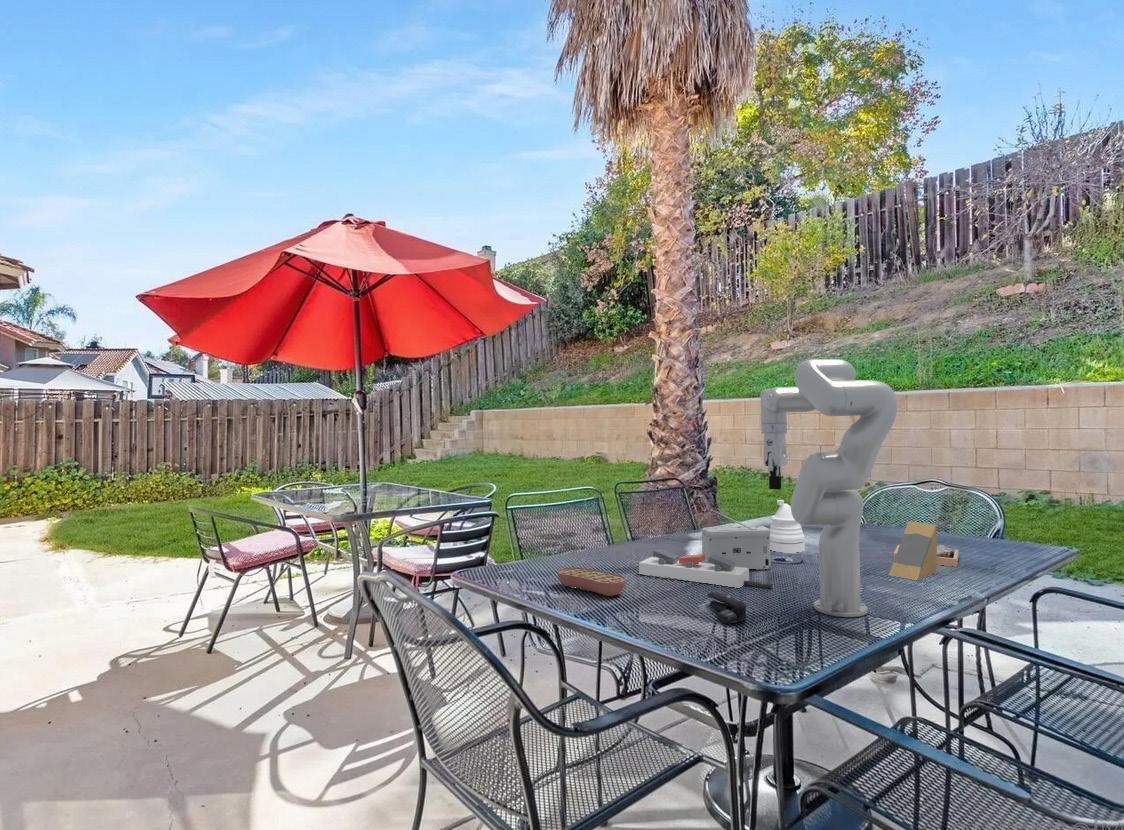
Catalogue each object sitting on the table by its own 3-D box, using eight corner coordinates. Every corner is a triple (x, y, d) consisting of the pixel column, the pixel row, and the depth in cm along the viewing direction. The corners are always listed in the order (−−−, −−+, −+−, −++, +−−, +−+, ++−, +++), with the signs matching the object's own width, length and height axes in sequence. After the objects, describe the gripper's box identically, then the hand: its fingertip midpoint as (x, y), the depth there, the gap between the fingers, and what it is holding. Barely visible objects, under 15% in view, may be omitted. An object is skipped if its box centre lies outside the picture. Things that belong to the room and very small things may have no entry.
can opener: (754, 625, 154) (753, 602, 154) (726, 628, 153) (726, 604, 153) (723, 603, 172) (723, 582, 172) (699, 605, 171) (698, 584, 171)
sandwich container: (886, 576, 194) (885, 527, 194) (908, 567, 204) (907, 520, 204) (916, 582, 188) (915, 531, 188) (937, 572, 197) (936, 524, 197)
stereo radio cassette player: (764, 564, 212) (763, 504, 212) (773, 570, 204) (772, 508, 204) (701, 566, 211) (700, 506, 211) (708, 572, 203) (706, 510, 203)
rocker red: (700, 563, 193) (699, 557, 193) (679, 565, 197) (678, 558, 197) (705, 560, 197) (704, 554, 197) (684, 561, 201) (683, 555, 201)
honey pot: (779, 554, 226) (778, 503, 225) (761, 547, 238) (760, 498, 238) (812, 552, 228) (811, 501, 228) (792, 544, 241) (791, 496, 241)
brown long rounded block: (551, 588, 190) (551, 571, 190) (573, 581, 198) (573, 565, 198) (612, 603, 175) (612, 584, 175) (634, 594, 182) (633, 577, 182)
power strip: (767, 592, 180) (767, 572, 180) (639, 575, 202) (638, 557, 202) (776, 585, 188) (775, 565, 188) (651, 569, 209) (651, 551, 209)
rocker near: (729, 572, 188) (731, 565, 188) (707, 563, 192) (708, 557, 192) (734, 568, 192) (735, 562, 192) (712, 560, 196) (713, 554, 195)
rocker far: (672, 565, 198) (673, 559, 198) (652, 556, 202) (653, 551, 201) (677, 562, 202) (679, 556, 201) (658, 554, 205) (659, 548, 205)
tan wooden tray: (957, 567, 203) (957, 559, 203) (893, 560, 213) (893, 553, 213) (958, 557, 216) (958, 549, 216) (898, 551, 225) (898, 544, 225)
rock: (905, 560, 216) (904, 545, 215) (913, 554, 222) (913, 539, 222) (948, 565, 207) (948, 550, 207) (956, 559, 214) (955, 544, 213)
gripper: (780, 429, 187) (781, 492, 187) (792, 427, 200) (793, 486, 200) (754, 429, 191) (755, 491, 191) (768, 428, 204) (769, 485, 204)
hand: (775, 488), depth 196 cm, fingers closed
